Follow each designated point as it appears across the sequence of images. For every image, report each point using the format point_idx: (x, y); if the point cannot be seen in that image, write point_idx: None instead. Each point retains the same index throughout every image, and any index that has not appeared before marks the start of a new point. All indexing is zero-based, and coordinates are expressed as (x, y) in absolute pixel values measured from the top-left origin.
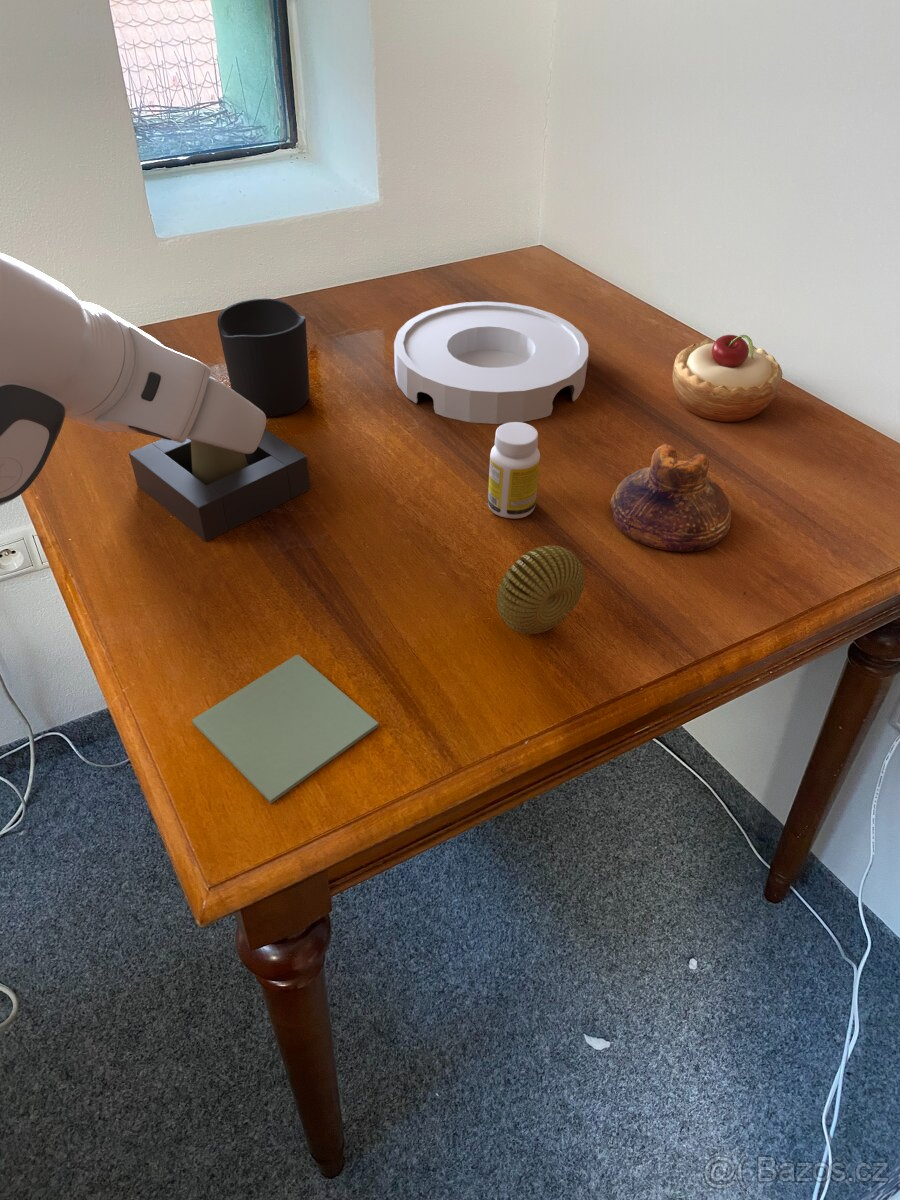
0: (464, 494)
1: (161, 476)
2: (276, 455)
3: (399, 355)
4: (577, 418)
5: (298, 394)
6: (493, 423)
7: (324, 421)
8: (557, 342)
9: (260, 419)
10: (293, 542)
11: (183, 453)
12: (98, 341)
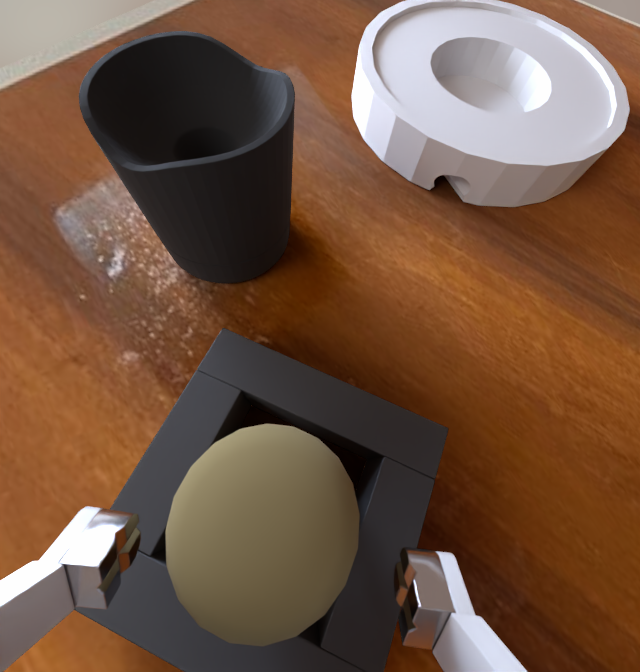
0: (617, 356)
1: (190, 667)
2: (395, 452)
3: (400, 116)
4: (613, 166)
5: (287, 231)
6: (541, 201)
7: (335, 262)
8: (554, 50)
9: None
10: (487, 603)
11: None
12: None
